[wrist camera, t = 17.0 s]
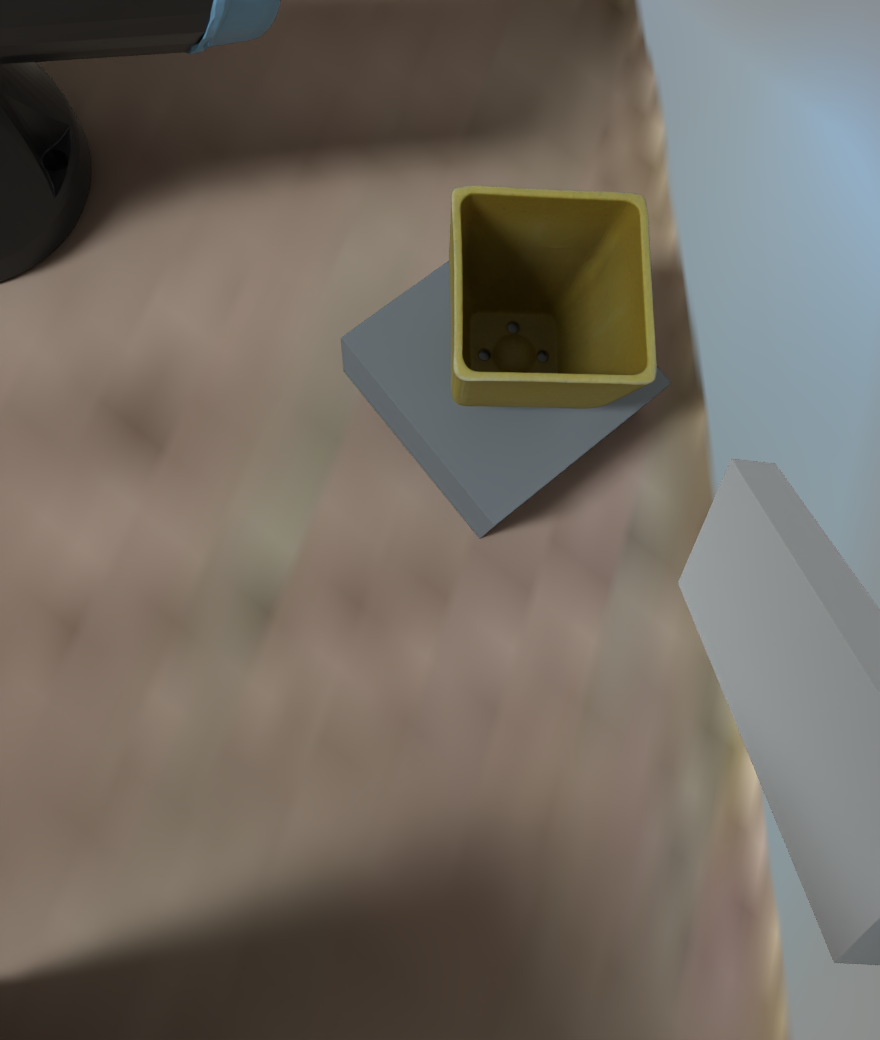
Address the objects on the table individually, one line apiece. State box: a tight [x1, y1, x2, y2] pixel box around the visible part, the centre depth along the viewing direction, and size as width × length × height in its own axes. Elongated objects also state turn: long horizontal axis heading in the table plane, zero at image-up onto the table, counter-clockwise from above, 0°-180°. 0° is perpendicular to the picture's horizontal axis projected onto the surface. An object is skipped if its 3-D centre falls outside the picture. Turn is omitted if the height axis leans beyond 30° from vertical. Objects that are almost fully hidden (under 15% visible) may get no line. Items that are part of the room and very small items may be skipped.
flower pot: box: [449, 186, 657, 409], centre depth 36 cm, size 9×9×9 cm
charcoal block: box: [341, 261, 671, 538], centre depth 43 cm, size 13×13×5 cm
